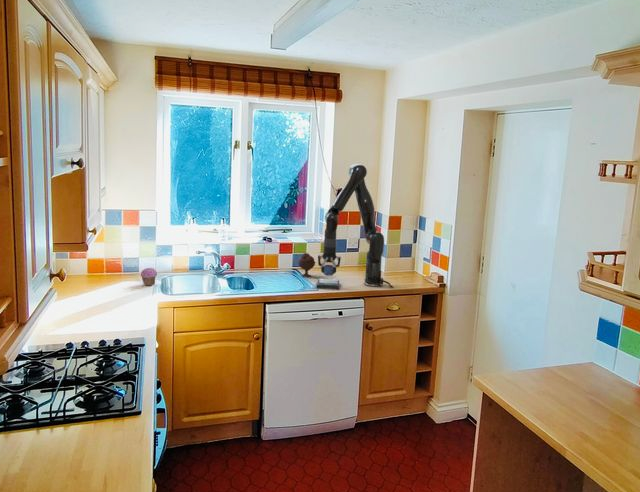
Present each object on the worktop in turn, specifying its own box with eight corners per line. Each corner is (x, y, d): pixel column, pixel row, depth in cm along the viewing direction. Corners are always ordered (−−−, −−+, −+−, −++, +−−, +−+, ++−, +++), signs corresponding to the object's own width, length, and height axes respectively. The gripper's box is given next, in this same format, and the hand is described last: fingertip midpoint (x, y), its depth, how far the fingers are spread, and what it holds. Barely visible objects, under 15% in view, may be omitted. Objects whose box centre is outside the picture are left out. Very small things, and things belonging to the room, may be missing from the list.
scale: (339, 283, 286) (339, 279, 286) (338, 289, 274) (338, 284, 273) (318, 282, 288) (318, 278, 287) (316, 288, 275) (316, 283, 274)
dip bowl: (333, 273, 284) (334, 265, 283) (333, 276, 277) (333, 267, 277) (323, 273, 284) (324, 264, 283) (323, 275, 278) (323, 266, 277)
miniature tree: (295, 277, 299) (296, 254, 297) (301, 273, 309) (301, 251, 307) (311, 278, 296) (312, 255, 294) (316, 275, 306) (317, 252, 304)
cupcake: (160, 284, 272) (159, 267, 271) (150, 287, 264) (150, 270, 263) (147, 282, 275) (147, 265, 274) (137, 285, 267) (137, 268, 266)
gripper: (317, 246, 275) (316, 273, 277) (341, 247, 274) (340, 275, 276) (318, 243, 283) (317, 270, 285) (342, 245, 281) (340, 272, 284)
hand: (328, 272), depth 281 cm, fingers closed on dip bowl, 6 cm apart
